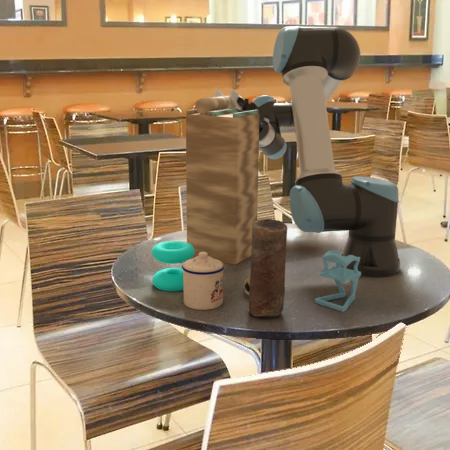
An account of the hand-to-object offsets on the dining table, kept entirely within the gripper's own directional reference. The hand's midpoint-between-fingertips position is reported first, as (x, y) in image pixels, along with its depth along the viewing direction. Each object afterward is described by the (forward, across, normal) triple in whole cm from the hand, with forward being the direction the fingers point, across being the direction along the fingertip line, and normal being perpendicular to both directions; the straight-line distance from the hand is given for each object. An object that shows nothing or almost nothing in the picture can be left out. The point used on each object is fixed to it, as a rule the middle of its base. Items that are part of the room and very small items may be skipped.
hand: (223, 93), depth 175 cm
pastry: (+1, -26, -51) cm, 57 cm away
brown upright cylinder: (+11, -33, -56) cm, 66 cm away
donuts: (+7, -6, -54) cm, 55 cm away
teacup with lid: (+11, -18, -56) cm, 60 cm away
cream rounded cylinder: (-1, 0, -5) cm, 5 cm away
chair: (-2, -44, -48) cm, 65 cm away
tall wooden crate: (-16, -4, -40) cm, 43 cm away
